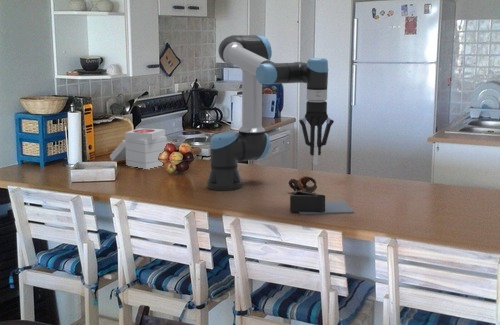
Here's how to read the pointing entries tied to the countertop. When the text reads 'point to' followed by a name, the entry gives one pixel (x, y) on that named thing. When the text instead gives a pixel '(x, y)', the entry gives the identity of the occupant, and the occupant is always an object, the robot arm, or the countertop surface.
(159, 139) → the pizza boxes
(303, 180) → the pottery mug
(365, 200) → the countertop surface
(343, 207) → the slate mat
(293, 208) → the phone stand
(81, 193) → the countertop surface
